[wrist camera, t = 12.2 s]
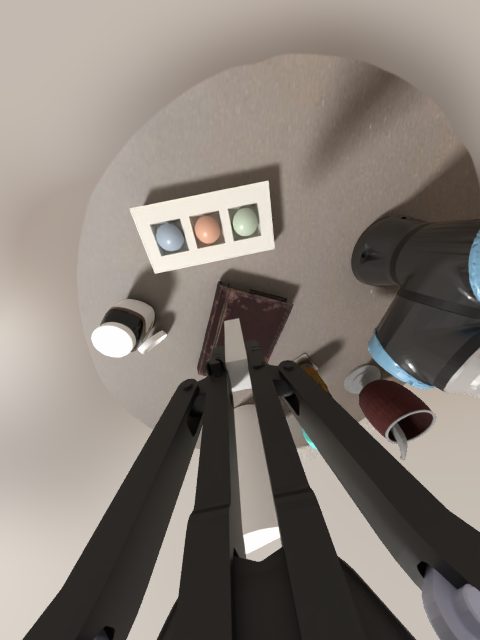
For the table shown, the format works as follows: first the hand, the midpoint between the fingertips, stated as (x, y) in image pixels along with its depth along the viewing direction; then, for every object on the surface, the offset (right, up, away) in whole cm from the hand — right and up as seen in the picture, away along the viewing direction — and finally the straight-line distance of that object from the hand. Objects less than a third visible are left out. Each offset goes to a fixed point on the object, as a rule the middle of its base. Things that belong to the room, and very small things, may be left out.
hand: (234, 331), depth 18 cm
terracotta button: (-6, +19, +17) cm, 26 cm away
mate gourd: (+42, -19, +42) cm, 63 cm away
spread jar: (-22, +1, +25) cm, 34 cm away
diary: (+1, -2, +30) cm, 30 cm away
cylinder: (+3, -35, +45) cm, 57 cm away
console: (-6, +19, +18) cm, 27 cm away
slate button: (-12, +17, +16) cm, 27 cm away
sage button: (+1, +20, +17) cm, 26 cm away
